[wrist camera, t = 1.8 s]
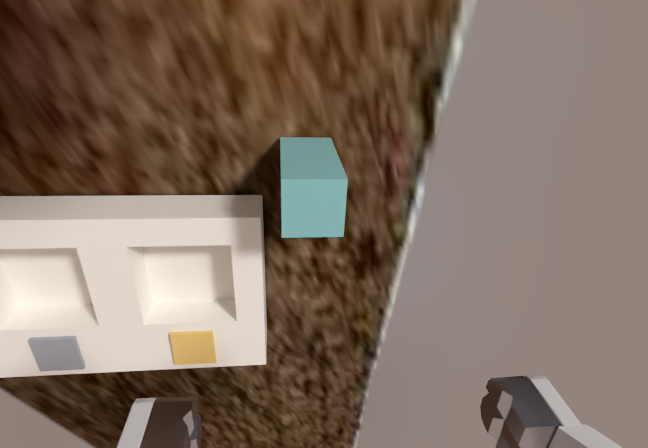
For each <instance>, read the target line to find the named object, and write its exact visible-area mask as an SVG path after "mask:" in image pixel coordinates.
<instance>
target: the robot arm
mask: <svg viewBox="0 0 648 448" xmlns="http://www.w3.org/2000/svg"><path fill="white" fill-rule="evenodd" d="M486 388H487V390H488V392H489V393H488V394H487V395H486V396H485V397H483V399H482V403H481V407H480V408H481V417H482V420H483V424H484V426H485V428H486V430H487V432H488V434H490V435H491V436H492V437H494V438H495V439H496V440H497V444H496V448H622V447H620V446H619V445H617V444H616V443H614V442H613V441H611V440H610V439H608V438H606V437H605V436H603V435H602V434H600V433H599V432H597V431H596V430H594V429H593V428H591V427H589V426H588V425H581V423H580V422H579V421H578V419H577V418H576V417H575V415H574V414H573V413H572V411H571V410H570V409H569V407H568V406H567V405H566V403H565V402H564V401H563V399H562V398H561V397H560V395H559V394H558V393H557V391H556V390H555V389H554V387H553V386H552V385H551V383H550V382H549V381H548V379H547V378H546V377H544V376H543V375H534V376H513V377H501V378H491V379H490V380H489V381H488V383H487V386H486ZM198 406H199V405H198V400H197V397H196V396H192V397H162V398H141V399H136V400H135V402H134V403H133V405H132V407H131V410H130V412H129V415H128V418H127V421H126V423H125V426H124V429H123V431H122V434H121V437H120V439H119V442H118V445H117V448H200V444H201V432H202V431H201V418H200V416H199V415H198V414H197V411H198Z"/></svg>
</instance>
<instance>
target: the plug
mask: <svg viewBox="0 0 648 448" xmlns="http://www.w3.org/2000/svg"><path fill="white" fill-rule="evenodd" d="M280 174H281V228H282V238H291V237H344V223H345V210H346V196H347V183H348V179H347V176H346V174H345V171H344V169H343V167H342V164H341V162H340V159H339V157H338V154H337V152H336V149H335V147H334V145H333V142H332V140H331V138H316V137H280Z"/></svg>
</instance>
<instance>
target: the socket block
mask: <svg viewBox="0 0 648 448" xmlns="http://www.w3.org/2000/svg"><path fill="white" fill-rule="evenodd" d="M266 348H267V320H266V290H265V260H264V230H263V200H262V195H157V196H0V378H4V377H24V376H44V375H63V374H83V373H103V372H123V371H143V370H163V369H183V368H203V367H223V366H243V365H262V364H266Z"/></svg>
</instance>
